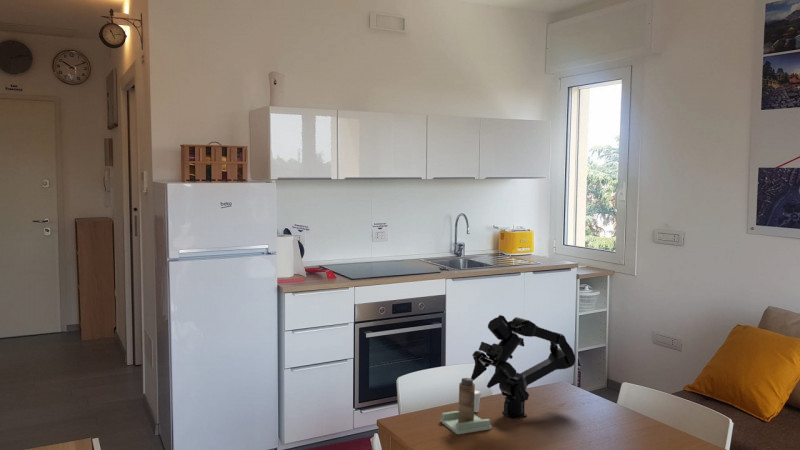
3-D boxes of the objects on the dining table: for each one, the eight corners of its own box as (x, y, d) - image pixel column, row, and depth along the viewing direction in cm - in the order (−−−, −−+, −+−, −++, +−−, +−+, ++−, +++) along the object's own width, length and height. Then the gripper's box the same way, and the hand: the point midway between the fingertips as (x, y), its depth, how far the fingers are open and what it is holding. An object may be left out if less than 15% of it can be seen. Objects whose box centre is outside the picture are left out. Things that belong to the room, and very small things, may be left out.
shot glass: (479, 414, 218) (480, 395, 218) (460, 412, 219) (460, 393, 219) (481, 407, 225) (481, 388, 224) (462, 406, 226) (462, 387, 226)
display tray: (473, 416, 216) (473, 408, 215) (491, 428, 205) (491, 419, 204) (440, 421, 210) (440, 413, 210) (457, 434, 199) (457, 425, 199)
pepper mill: (465, 418, 211) (466, 376, 211) (476, 422, 207) (478, 379, 207) (455, 421, 208) (456, 379, 207) (466, 426, 204) (467, 382, 203)
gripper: (477, 328, 219) (450, 362, 215) (510, 339, 203) (482, 376, 198) (494, 347, 223) (469, 381, 219) (528, 359, 207) (501, 396, 202)
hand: (479, 383), depth 209 cm, fingers open, 9 cm apart
